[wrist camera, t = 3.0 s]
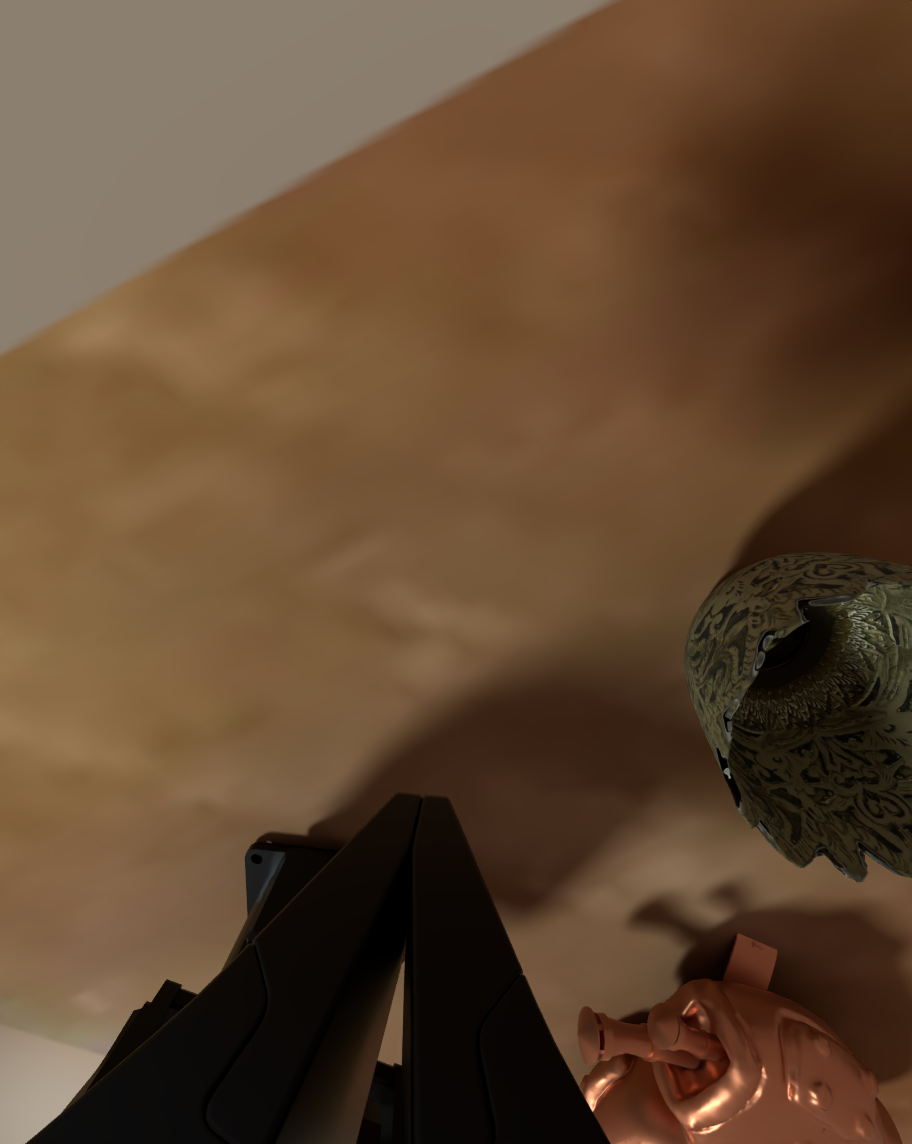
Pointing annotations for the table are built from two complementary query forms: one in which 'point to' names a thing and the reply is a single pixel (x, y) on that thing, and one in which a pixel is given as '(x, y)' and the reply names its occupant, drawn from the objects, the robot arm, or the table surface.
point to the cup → (812, 704)
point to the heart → (729, 1068)
